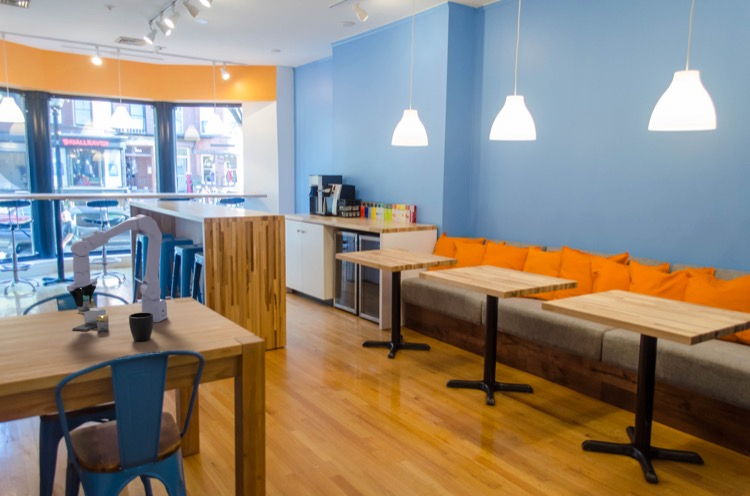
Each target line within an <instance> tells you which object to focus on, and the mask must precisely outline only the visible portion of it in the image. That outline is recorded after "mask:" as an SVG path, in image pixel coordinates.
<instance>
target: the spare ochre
mask: <svg viewBox="0 0 750 496" xmlns="http://www.w3.org/2000/svg"><path fill="white" fill-rule="evenodd" d="M109 326H110V325H109V315H107V314H106V315H100V316H97V327H96V329H97V330H96V331H97V333H99V334H101V333H102V334H103V333H108V332H109V331H110V327H109Z"/></svg>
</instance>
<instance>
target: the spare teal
mask: <svg viewBox="0 0 750 496" xmlns="http://www.w3.org/2000/svg"><path fill="white" fill-rule="evenodd" d="M77 310H78V311H79V312H86V311H90V303H89V295H87V294H84V295H83V306H82V307H77ZM78 311H77V312H78Z"/></svg>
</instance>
